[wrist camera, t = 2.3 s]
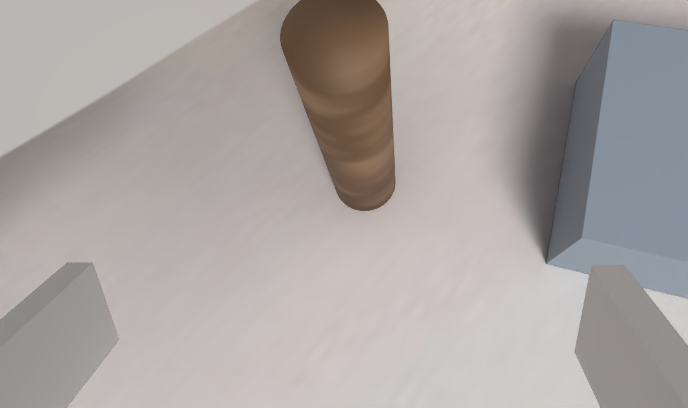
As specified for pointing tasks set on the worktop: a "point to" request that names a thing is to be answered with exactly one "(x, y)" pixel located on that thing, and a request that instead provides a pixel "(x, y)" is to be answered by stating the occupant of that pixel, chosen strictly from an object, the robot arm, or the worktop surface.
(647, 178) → the bore block
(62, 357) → the robot arm
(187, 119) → the worktop surface
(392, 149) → the walnut peg
